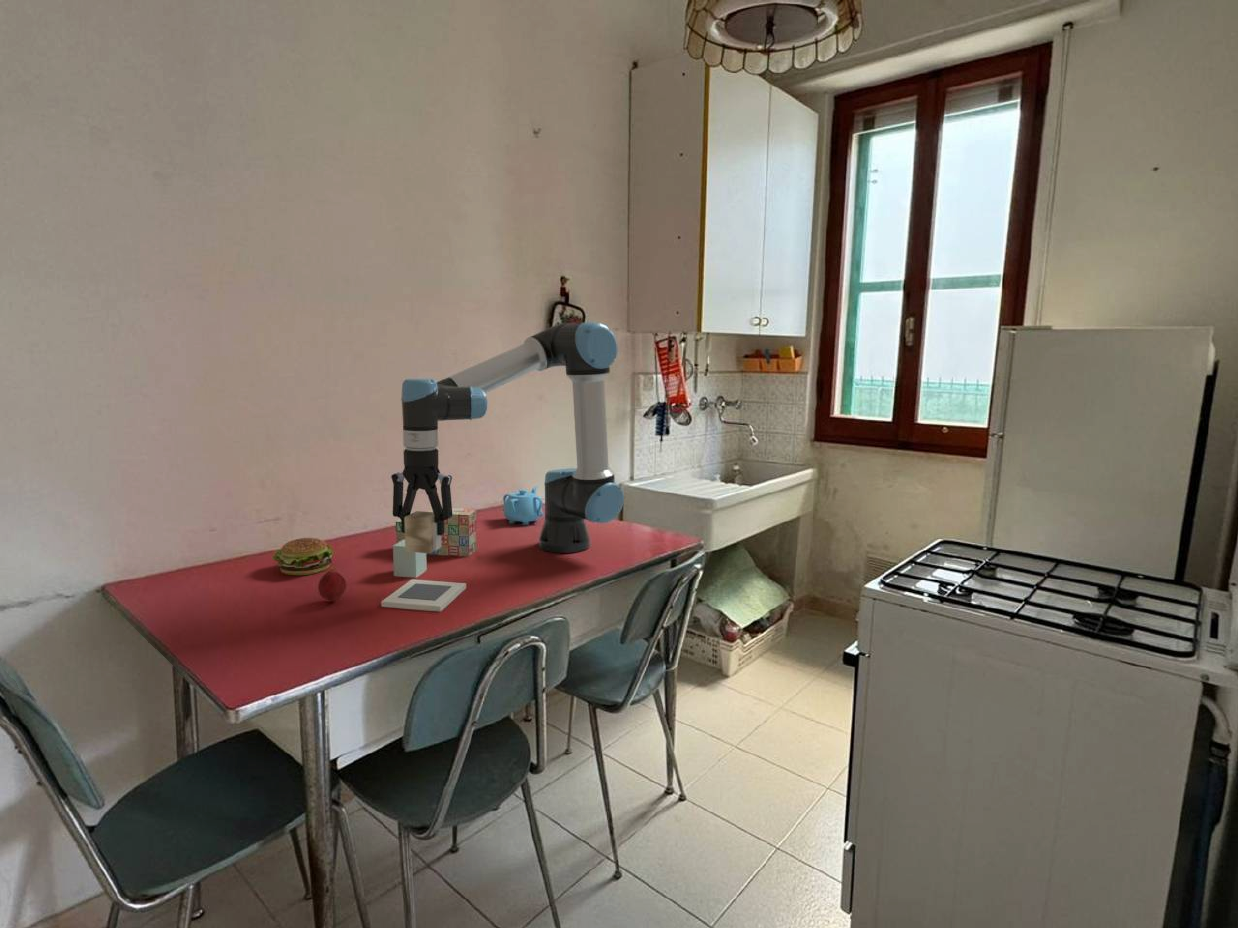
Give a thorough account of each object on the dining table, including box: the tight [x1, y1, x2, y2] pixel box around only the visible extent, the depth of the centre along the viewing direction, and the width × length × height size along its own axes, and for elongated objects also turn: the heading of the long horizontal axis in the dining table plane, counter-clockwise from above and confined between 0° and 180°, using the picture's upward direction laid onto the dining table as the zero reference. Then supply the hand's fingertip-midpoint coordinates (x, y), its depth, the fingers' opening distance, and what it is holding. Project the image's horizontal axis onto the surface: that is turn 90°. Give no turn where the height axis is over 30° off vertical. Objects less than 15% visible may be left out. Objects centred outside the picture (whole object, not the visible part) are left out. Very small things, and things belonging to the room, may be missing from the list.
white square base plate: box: [380, 578, 467, 612], centre depth 156 cm, size 14×15×1 cm
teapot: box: [502, 486, 544, 526], centre depth 225 cm, size 13×14×11 cm
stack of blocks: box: [395, 507, 477, 558], centre depth 190 cm, size 21×6×12 cm, turn 84°
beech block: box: [404, 510, 436, 553], centre depth 154 cm, size 6×6×8 cm
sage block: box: [392, 539, 428, 579], centre depth 172 cm, size 6×6×8 cm
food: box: [271, 537, 334, 576], centre depth 173 cm, size 14×14×8 cm
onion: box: [317, 567, 347, 603], centre depth 152 cm, size 6×6×8 cm
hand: (423, 547), depth 154 cm, fingers closed on beech block, 6 cm apart
